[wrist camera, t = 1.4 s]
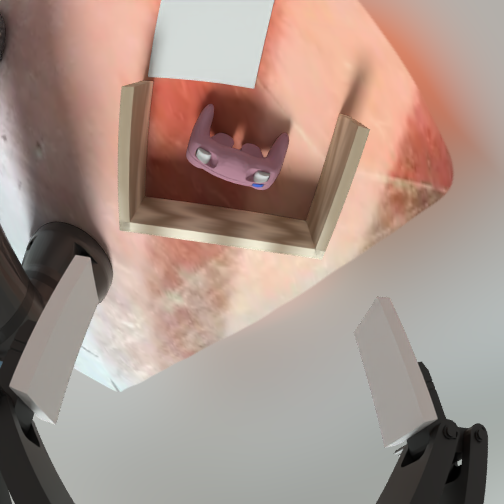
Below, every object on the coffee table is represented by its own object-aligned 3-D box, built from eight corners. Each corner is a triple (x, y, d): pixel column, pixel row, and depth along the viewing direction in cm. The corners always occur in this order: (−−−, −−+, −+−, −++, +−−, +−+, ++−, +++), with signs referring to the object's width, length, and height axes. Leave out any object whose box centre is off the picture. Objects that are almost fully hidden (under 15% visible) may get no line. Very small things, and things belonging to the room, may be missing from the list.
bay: (135, 204, 35) (119, 230, 30) (142, 80, 26) (121, 86, 21) (312, 230, 38) (321, 259, 33) (349, 116, 29) (369, 129, 24)
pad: (149, 76, 26) (147, 76, 25) (167, -17, 19) (165, -18, 19) (253, 88, 27) (254, 88, 26) (275, -6, 21) (276, -8, 20)
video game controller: (195, 128, 31) (175, 172, 28) (206, 97, 27) (184, 140, 24) (276, 158, 33) (268, 205, 30) (294, 132, 30) (289, 179, 26)
